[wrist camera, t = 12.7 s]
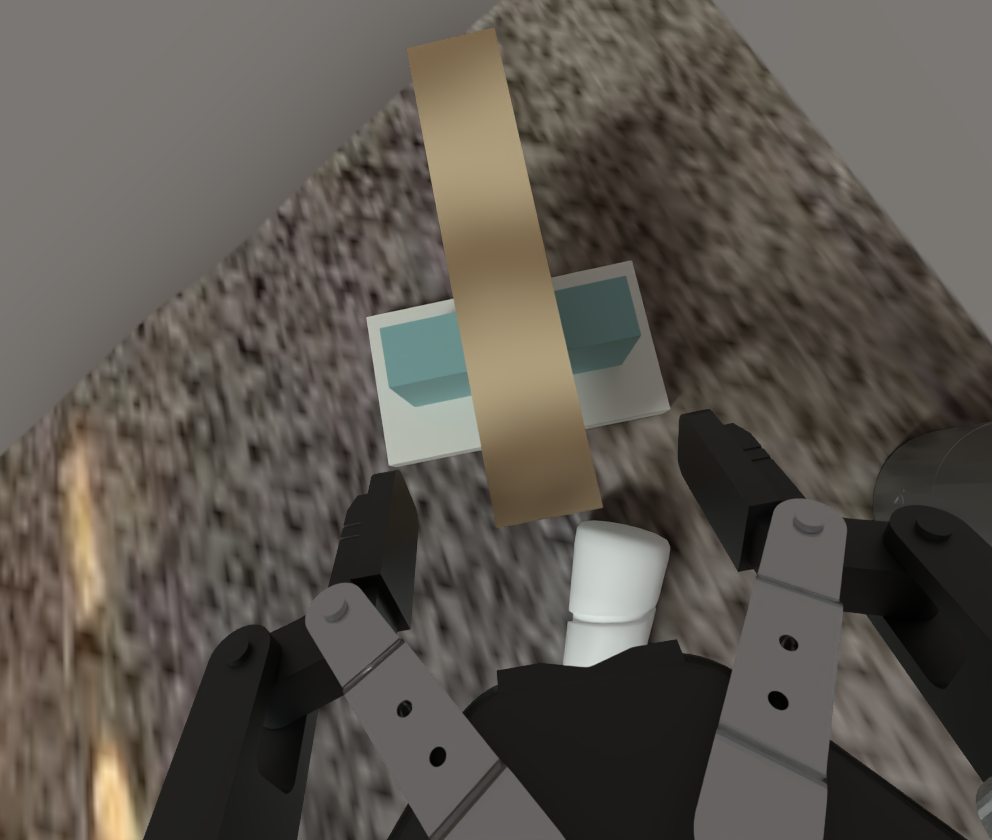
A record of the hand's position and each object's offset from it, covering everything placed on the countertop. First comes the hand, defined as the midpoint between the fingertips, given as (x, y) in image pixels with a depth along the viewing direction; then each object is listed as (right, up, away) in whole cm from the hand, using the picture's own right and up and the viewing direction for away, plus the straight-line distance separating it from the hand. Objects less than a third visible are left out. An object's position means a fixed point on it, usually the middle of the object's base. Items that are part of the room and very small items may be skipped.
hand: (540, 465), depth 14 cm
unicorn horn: (+4, -15, +12) cm, 20 cm away
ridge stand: (0, +4, +15) cm, 16 cm away
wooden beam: (-1, +5, +9) cm, 10 cm away
